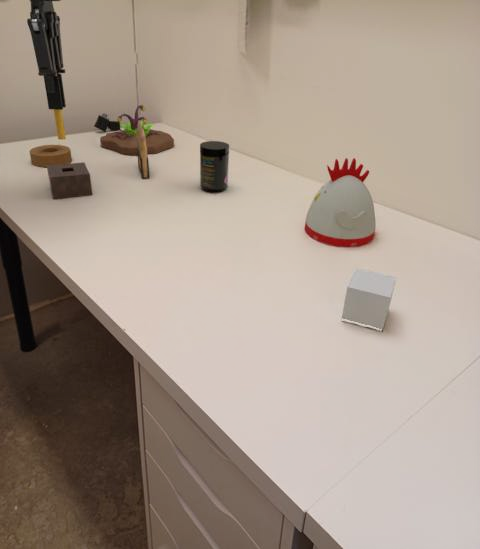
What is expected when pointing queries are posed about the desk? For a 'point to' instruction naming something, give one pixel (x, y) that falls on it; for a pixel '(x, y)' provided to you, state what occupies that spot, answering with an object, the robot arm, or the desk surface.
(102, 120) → the lighter
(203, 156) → the supplement container
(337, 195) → the kitchen timer
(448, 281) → the desk surface
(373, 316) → the light grey cube
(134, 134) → the plant
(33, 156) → the tape roll
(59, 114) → the pencil
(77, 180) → the block
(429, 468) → the desk surface
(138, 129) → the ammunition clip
